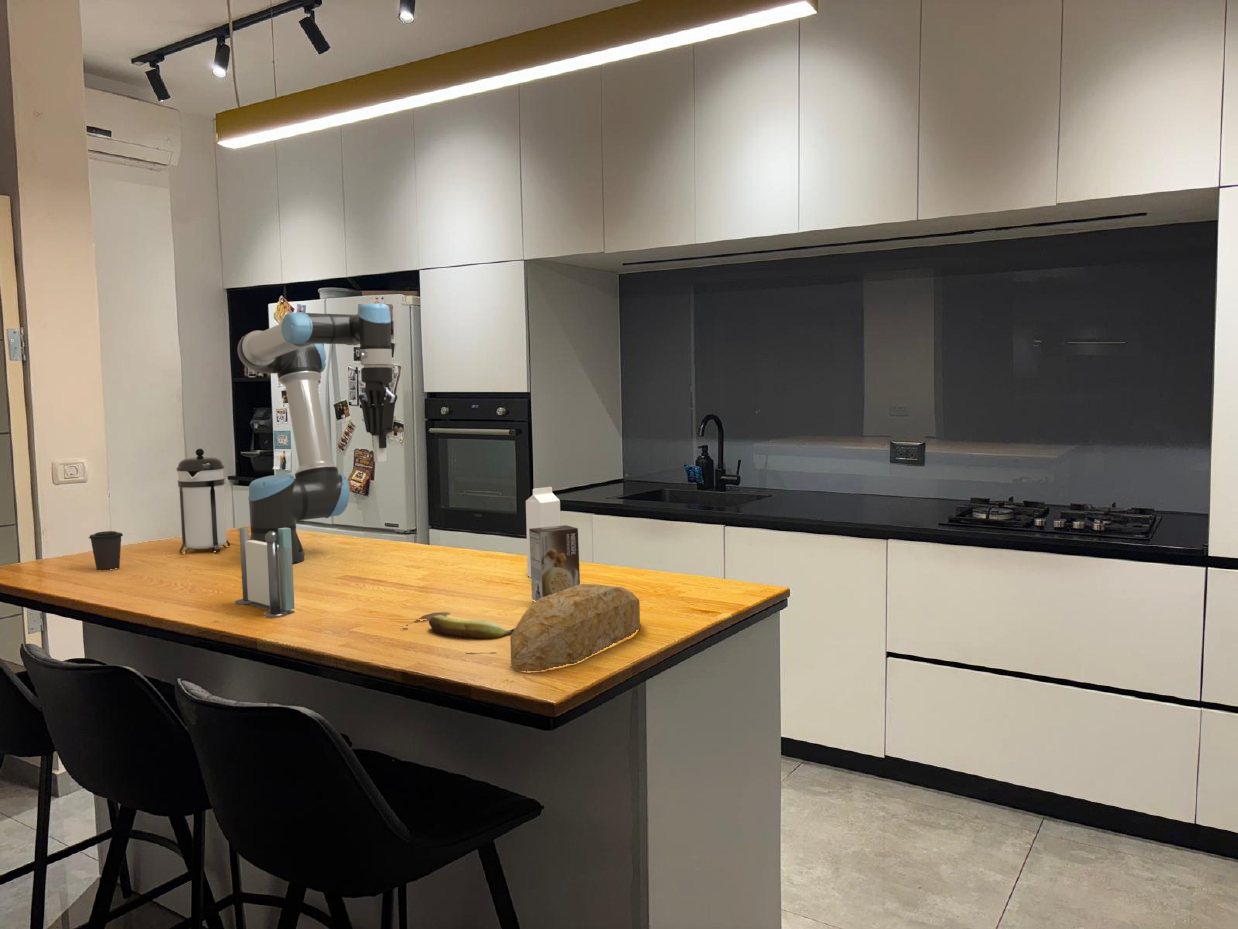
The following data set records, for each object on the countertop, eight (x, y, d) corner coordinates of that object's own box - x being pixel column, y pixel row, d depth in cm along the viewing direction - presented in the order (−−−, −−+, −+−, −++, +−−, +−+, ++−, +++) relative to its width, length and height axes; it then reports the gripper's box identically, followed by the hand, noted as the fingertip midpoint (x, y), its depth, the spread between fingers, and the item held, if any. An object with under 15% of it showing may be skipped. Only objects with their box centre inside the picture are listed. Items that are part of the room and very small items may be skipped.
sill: (231, 602, 209) (230, 601, 209) (252, 598, 213) (252, 597, 213) (278, 615, 197) (278, 613, 197) (300, 611, 201) (300, 609, 201)
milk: (561, 577, 232) (560, 487, 230) (542, 581, 227) (540, 489, 225) (546, 573, 236) (544, 485, 234) (526, 577, 232) (525, 487, 230)
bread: (549, 678, 153) (548, 617, 152) (496, 669, 158) (494, 610, 157) (656, 627, 183) (655, 576, 183) (608, 620, 189) (607, 571, 188)
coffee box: (569, 595, 211) (567, 524, 209) (581, 601, 205) (579, 528, 204) (530, 600, 207) (528, 527, 205) (542, 606, 201) (540, 531, 200)
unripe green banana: (348, 645, 176) (347, 625, 175) (436, 612, 200) (435, 594, 200) (510, 666, 161) (509, 644, 160) (583, 628, 185) (583, 609, 185)
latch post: (260, 615, 197) (255, 531, 196) (279, 611, 201) (275, 529, 199) (271, 618, 194) (267, 533, 193) (290, 614, 198) (286, 531, 196)
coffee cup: (114, 572, 248) (112, 534, 247) (84, 572, 248) (81, 534, 247) (131, 566, 256) (129, 529, 255) (101, 566, 256) (99, 529, 255)
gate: (241, 599, 210) (237, 521, 208) (249, 598, 211) (245, 520, 209) (286, 612, 197) (282, 529, 196) (294, 610, 199) (290, 528, 197)
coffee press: (245, 549, 279) (239, 447, 276) (189, 557, 267) (183, 451, 265) (219, 543, 291) (214, 445, 288) (165, 550, 279) (159, 449, 277)
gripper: (348, 367, 237) (352, 461, 239) (379, 366, 229) (383, 463, 231) (373, 367, 243) (377, 459, 245) (405, 366, 234) (408, 461, 236)
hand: (380, 461), depth 238 cm, fingers closed
